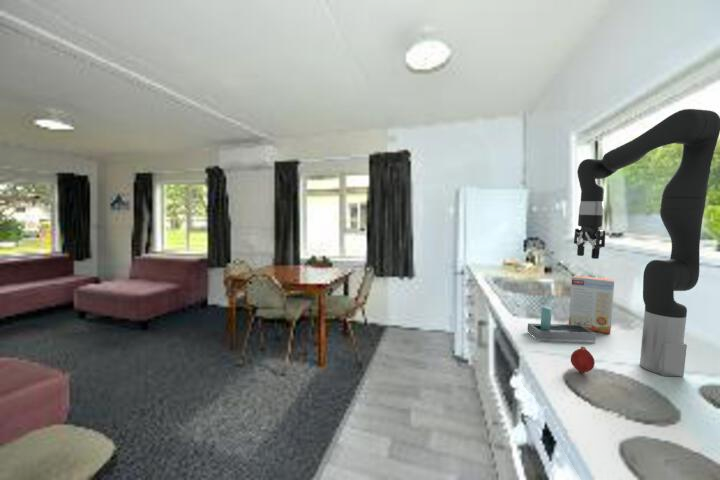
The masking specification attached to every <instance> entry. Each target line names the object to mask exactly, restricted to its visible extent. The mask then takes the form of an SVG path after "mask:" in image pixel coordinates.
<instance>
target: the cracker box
mask: <svg viewBox="0 0 720 480" xmlns="http://www.w3.org/2000/svg"><path fill="white" fill-rule="evenodd" d="M614 291H615V279H612V278H611V279H610V278H602V277H593V276H583V275H573V276H572V277H571V287H570V300H569V313H568V314H569V316H568V317H569V318H568V325H581V326H583V327H585V328H587V329H589V330H591V331H593V332H597V333H598V332H599V333H602V334H607V335H609V334H611V332H612V331H611V330H612V320H613V319H612V318H613V304H614V303H613V302H614V293H615V292H614Z"/></svg>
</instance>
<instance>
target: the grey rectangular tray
mask: <svg viewBox="0 0 720 480" xmlns="http://www.w3.org/2000/svg"><path fill="white" fill-rule="evenodd" d="M540 327H541V323H527V331H528V332H529V333H530V334H531V335H533V336H534V337H535V338H536V339H538V340H539V341H538V340H537V341H538V342H545V341H547V342H552V343H553V342H554V343H579V344H581V343H585V344H596V337H597V333H596V332H595V331H592V330H589V329H587V328H585V327H583V326H581V325H569V324H564V323H563V324H562V323H561V324H557V323H551V325H550V330H539V329H540ZM529 333H528V334H529ZM530 334H529V335H530ZM531 335H530V336H531ZM533 336H532V337H533ZM534 337H533V338H534ZM535 338H534V339H535ZM536 339H535V340H536ZM547 342H546V343H547Z"/></svg>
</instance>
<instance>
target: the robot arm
mask: <svg viewBox="0 0 720 480" xmlns="http://www.w3.org/2000/svg"><path fill="white" fill-rule="evenodd" d="M719 137H720V115H719V114H718V113H717V112H716V111H713V110H709V109H699V108H698V109H697V108H683V109H681V110H678V111H676V112H674V113H672V114H671V115H669V116H667V117H666V118H664V119H663V120H661V121H660V122H659V123H657V124H655V125H654V126H652V127H650V129H649V128H648V130H647V131H644V132H643V133H641V134H640V135H639V136H636V137H635V138H633V139H632V140H630V141H628V142H626V143H624V144H621V145H619V146H618V147H615V148H613V149H611V150H609V151H608V152H606V153H605V154H604V155H603V156H602V158H601V159H598V158H597V159H596V158H587V159H583V160H581V162H580V163H579V165H578V166H577V167H578V168H577V171H576V172H577V179H578V183H579V188H580V191H581V192H580V203H579V207H578V218H577V219H578V221H577V225H578V227H580V228H575V230H574V237H573V244H576V245H575V246H577V248H576V249H577V250H576V251H577V253H576V255H577V256H579V257H583V256H585V245H586V244H587V242H588V243H589V244H590V245H591V255H590V256H591V259H594V260H596V259H597V260H598V259H599V258H600V250H601V248H605V246H606V230H602V229H599V228H602V227H603V219H604V210H605V209H604V196H605V188H604V186H602V185H600V184H597V181H596V180H602V179H606V178H608V177H611V176H612V175H613V174H614V173H616V172H617V171H619V170H620V169H623V168H626V167H628V166H631V165H633V164H635V163H637V162H638V161H641V159H643V158H644V157H645V156H646V155H647V154H648V153H650V152H651V151H653V150H655V149H658V148H661V147H664V146H667V145H672V144H677V145H678V144H679V145H683V148H682V155H681V161H680V163H679V166H678V168H677V169H676V170H675V172H674V174H673V175H672V177H671V178H670V179H669V181H668V182H667V184H666V185H665V187H664V189H663V192H662V195H661V201H660V202H661V203H660V211H659V215H660V218H661V219H660V220H661V221H662V224H663V225H664V227H665V229H666V231H667V233H668V235H669V238H670V242H671V252H670V257H669V259H666V258H665V259H664V258H663V259H658V258H657V259H653V260H650V261H649V262H648V263H647V264H646V265H645V267H644V270H643V277H642V278H643V279H642V301H643V303H644V315H643V324H642V325H643V326H642V337H641V347H640V358H639V366H640V367H642V368H643V369H645V370H647V371H649V372H652V373H655V374H658V375H660V376H662V377H664V376H665V377H684V376H685V368H686V366H685V365H686V357H687V347H688V346H687V344H686V343H685V331H686V325H687V324H686V323H687V314H688V308H687V307H686V306H685V305H684V304H683V303H682V304H681V303H680V302H677V301H676V300H675V293H674V292H686V291H690V290H693V288H694V287H695V286H696V285H697V284H698V281H699V278H700V250H701V249H700V246H701V245H700V243H701V234H702V225H703V219H704V218H703V217H704V213H705V208H706V200H707V193H708V192H707V191H708V184H709V179H710V173H711V168H712V167H711V165H712V161H713V157H714V153H715V150H716V146H717V143H718V140H719Z"/></svg>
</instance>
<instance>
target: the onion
mask: <svg viewBox="0 0 720 480" xmlns="http://www.w3.org/2000/svg"><path fill="white" fill-rule="evenodd" d="M570 363H571V364H572V366H573V368H574V369H575V370H577V371H578V373H580V372H582V373H581V374H586V373H589V372H590V371H592V369H594V367H595V358H594V356H593V354H592V353H591V352H590V351H589V350H588V349H587V348H586V347H585V346H581V347H580V348H578V349H576V350H574V351H573V352H572V353H571V355H570ZM585 372H586V373H585Z"/></svg>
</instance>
